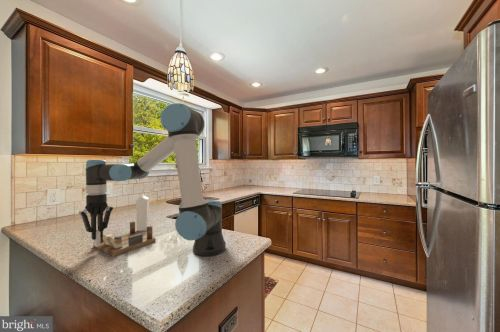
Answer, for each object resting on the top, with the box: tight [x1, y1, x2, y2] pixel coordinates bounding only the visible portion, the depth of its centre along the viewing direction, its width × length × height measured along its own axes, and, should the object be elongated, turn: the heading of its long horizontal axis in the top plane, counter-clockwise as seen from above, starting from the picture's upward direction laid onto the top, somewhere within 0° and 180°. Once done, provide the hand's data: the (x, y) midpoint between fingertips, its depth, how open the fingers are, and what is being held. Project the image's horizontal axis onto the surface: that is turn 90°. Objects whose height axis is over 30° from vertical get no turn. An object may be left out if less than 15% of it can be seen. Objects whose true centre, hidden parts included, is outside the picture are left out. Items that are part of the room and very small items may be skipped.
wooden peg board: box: [93, 221, 157, 257], centre depth 106 cm, size 20×20×8 cm
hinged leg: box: [103, 233, 122, 248], centre depth 99 cm, size 12×3×5 cm, turn 58°
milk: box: [135, 193, 151, 232], centre depth 130 cm, size 6×6×22 cm
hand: (97, 245), depth 95 cm, fingers closed
